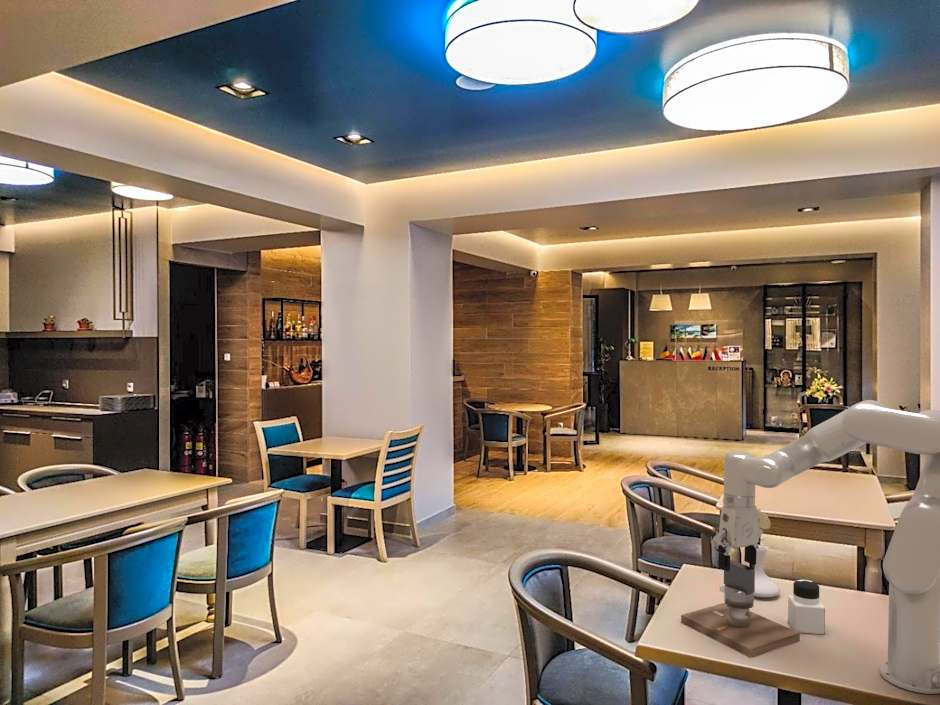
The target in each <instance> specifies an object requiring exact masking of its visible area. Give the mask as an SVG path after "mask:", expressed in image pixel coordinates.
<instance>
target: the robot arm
mask: <svg viewBox="0 0 940 705" xmlns="http://www.w3.org/2000/svg"><path fill="white" fill-rule="evenodd" d="M865 444H870V445H874V446H878V447H883V448H887V449H892V450H896V451H901V452H906V453H910V454H916V455H923V456H926V457H925V462H924V464H923V467H922V470H921V472H920V476H919V479H918V482H917V484H916V487H915V489H914V492H913V494H912V496H911V498H910V499H909V500H908V502H907V503H906V504H905V506H904V508H902V511H901V512H900V515H899V518H898V519H897V520H898V521H897V523H896V526H895V527H894V528H895V529H894V531H893V534H892V537H891V540H890V541H889V544H888V547H887V550H886V553H885V556H884V558H883V562H882V568H883V574H884V576H885V578H886V580H887V581H888V583H889V586H888V616H887V617H888V622H887V625H888V627H887V628H888V629H887V630H888V632H887V633H888V634H887V661H884V662H882V663H881V664H880V665H879V673H880V676H882V678H883V679H884V680H885V681H887V682H889V683H890V684H892V685H894V686H896V687H899V688H900V689H904V690H907V691H909V692H914V693H920V694H928V695H937V694H940V410H936V409H927V410H922V411H920V412H911V411H906V410H899V409H894V408H889V407H887V406H886V405H885V404H884V403H882V402H880V401H877V400H874V399H866V400H862V401H858V402H857V403H855V404H853V405H851V406H850V407H849V408H847V409H845V410H843V411H841V412H839V413H837V414H836V415H834V416H831V418H828V419H827V420H825V421H823V422H821V423H819V424H817V425H815V426H813V427H812V428H810V429H809V430H808V431H806V433H805V434H804V435H801V436H800V437H799V438H797V439H795V440H794V441H791V442H790V443H789V444H787V445H785V446H783V447H780V448H779V449H777V450H775V451H773V452H771V453H769V454H766V455H765V456H760V457H756V456H755V455H754V454H753V453H750V452H746V451H737V450H736V451H728V452H727V453H726V454H725V456H724V459H723V460H724V461H723V462H724V466H723V468H724V469H723V476H724V477H723V499H722V502H723V505H722V506H721V507H722V508H721V513H720V518H719V519H720V520H719V527H718V528H719V529H718V533H717V534H716V535H714V537H712V544H713V545H714V549H715V550H716V552H717V553H718V560H717V564H718V568H719V569H721V570H723V571H724V570H726V571H730V560H731V555H729V554H730V552H731V551H732V549H733V548H734V549H740V548H744V557H743V558H744V562H745V563H748V564H749V565H753V566H755V564H756V551H757V550H756V549H758V545H760V544H759V543H761V542H760V540H761V539H762V535H763V533H764V532H763V530H764V529H762V528H760V527H759V520H758V512H757V510H758V508H757V507H758V506H757V505H756V486H759V487H762V488H766V489H772V488H777V487H779V486H780V485H782V484H784V483H785V482H787V481H789V480H790V479H792V478H793V477H795V476H797V475H800V474H802V473H803V472H805V471H807V470H810V469H811V468H814V467H815V466H818V465H820V464H823V463H827V462H832V461H834V460H837V459H838V458H840V457H842V456H844V455H846V454H848V453H850V452H852V451H854V450H856V449H858V448H860V447H861V446H864V445H865ZM725 546H726V548H725Z"/></svg>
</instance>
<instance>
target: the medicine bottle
mask: <svg viewBox="0 0 940 705" xmlns="http://www.w3.org/2000/svg"><path fill="white" fill-rule="evenodd" d="M792 585H793V588H792V589H793V591H792V594H791V595H790V594H788V596H787V599H788V600H787V622H788V623H789V625H790V626H791V629H792V630H795V631H797V632H799V633H800V634H810V635H811V634H814V635H826V634H825V633H826V632H825V631H826V607H825V606H824V605H823V603H822V602H821V601H820V586H819V584H818V583H817V582H814V581H813V580H807V579H798V580H795V581H794V582H793V584H792Z"/></svg>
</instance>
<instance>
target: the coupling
mask: <svg viewBox="0 0 940 705" xmlns="http://www.w3.org/2000/svg"><path fill="white" fill-rule="evenodd" d="M719 591H720V592H721V593H724V597H723V598H724V600H723V601H724V602H723V603H725V604H727V605H728V606H731V607H734V608H739V609H749V610H750V609H751V608H753V607H754V602H755V600H754V597H755V596H754V592H755V567H752V566H750V565H749V566H748V565H746V564H743V563H740V562H737V561H735V560H732V559H730V571H726V570H723V585H719Z"/></svg>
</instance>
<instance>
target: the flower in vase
mask: <svg viewBox="0 0 940 705" xmlns="http://www.w3.org/2000/svg"><path fill="white" fill-rule="evenodd" d="M757 512H758V520H759V528H760V529H762V530H768V529H770V530H771V523H772V522H771V519H769V516H768V515H767V514H765V512H763V511H762V510H761V509H760V508H757ZM766 539H767V537H766V538H761V540H760V542H759V543H761V542H764V541H765V540H766ZM756 550H757V551H756V564H755V565H754V569H755V592H754V597H757V598H773V597H777V596H778V595H779V594H780V593H781V589H780V586H779V585H778V584H777V583H776V582H775V581H774V580H772V578H770V577H769V576H768V575H767V574H766V573H765V571H764V560H765V555H766V553H767V551H769V547H767V546H766V545H761V544H758V549H756Z"/></svg>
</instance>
